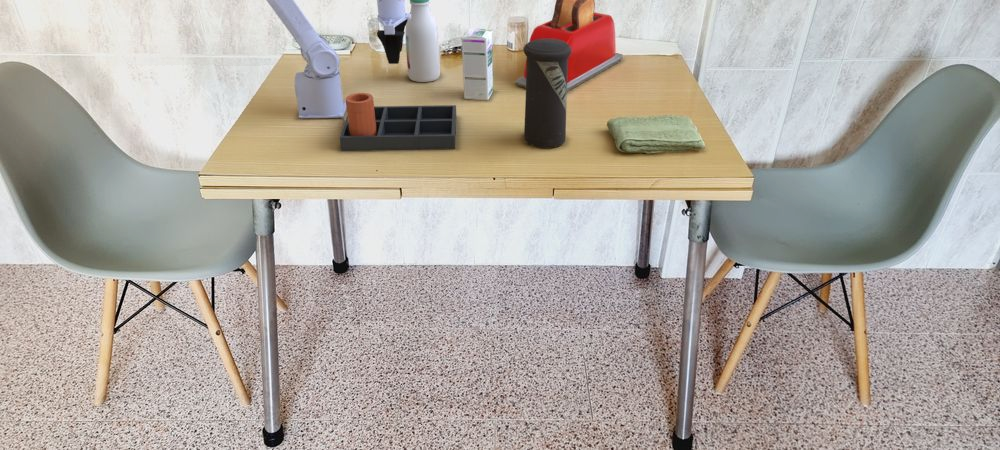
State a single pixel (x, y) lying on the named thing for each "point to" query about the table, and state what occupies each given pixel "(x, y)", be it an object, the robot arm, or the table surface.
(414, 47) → the milk bottle
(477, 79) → the syrup box
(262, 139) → the table surface
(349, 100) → the jar
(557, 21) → the toaster
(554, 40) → the container
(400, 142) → the tray
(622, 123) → the washcloth
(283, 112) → the table surface
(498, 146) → the table surface
